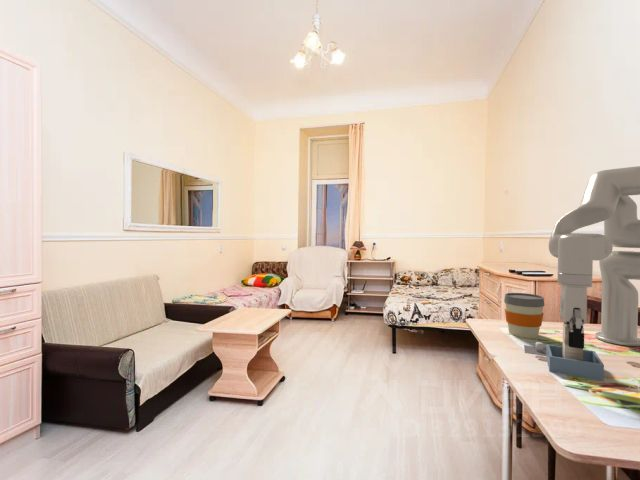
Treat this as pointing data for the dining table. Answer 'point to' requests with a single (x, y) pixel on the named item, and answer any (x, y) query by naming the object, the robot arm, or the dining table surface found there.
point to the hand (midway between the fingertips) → (573, 342)
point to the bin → (575, 363)
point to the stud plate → (532, 350)
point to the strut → (570, 351)
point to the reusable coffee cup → (524, 314)
